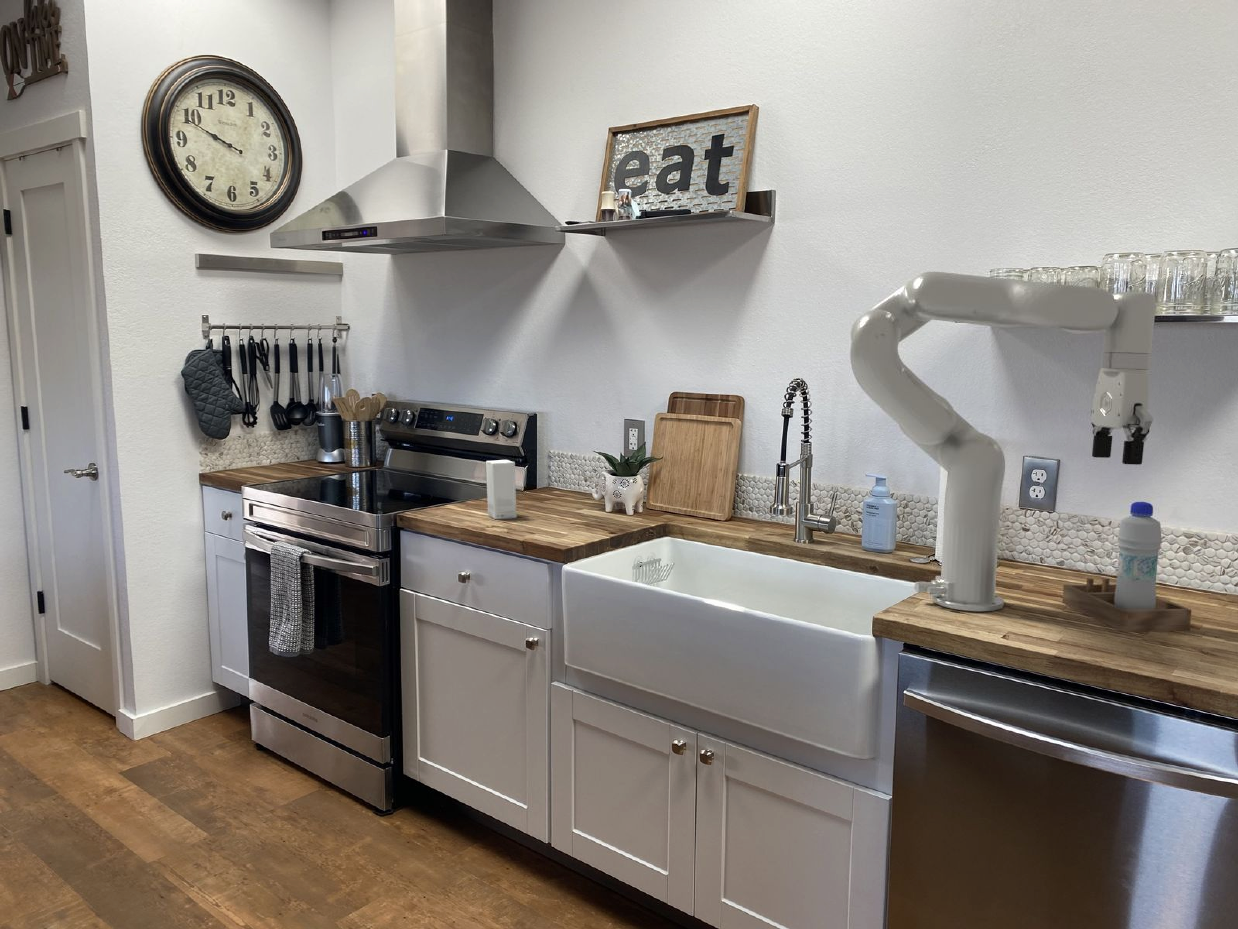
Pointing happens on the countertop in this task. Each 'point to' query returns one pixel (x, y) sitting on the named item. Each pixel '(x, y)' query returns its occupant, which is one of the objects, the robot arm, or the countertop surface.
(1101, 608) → the tray
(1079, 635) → the countertop surface
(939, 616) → the countertop surface
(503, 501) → the skincare box
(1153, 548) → the bottle
